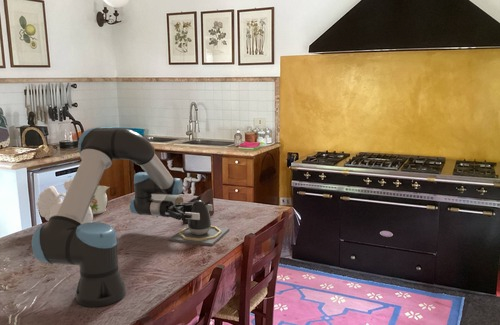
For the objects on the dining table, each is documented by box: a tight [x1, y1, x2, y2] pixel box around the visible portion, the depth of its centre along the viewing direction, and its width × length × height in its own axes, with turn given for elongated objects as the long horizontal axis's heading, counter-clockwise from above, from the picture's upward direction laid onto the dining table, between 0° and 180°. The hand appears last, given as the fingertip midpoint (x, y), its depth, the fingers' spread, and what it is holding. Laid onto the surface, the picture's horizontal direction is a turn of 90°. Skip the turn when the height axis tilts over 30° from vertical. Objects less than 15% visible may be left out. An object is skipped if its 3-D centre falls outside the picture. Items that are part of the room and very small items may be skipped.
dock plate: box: [168, 225, 230, 247], centre depth 200 cm, size 20×20×2 cm
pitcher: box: [90, 185, 110, 215], centre depth 235 cm, size 11×18×14 cm, turn 80°
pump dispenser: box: [187, 200, 212, 235], centre depth 198 cm, size 10×10×15 cm
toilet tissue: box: [152, 194, 166, 200], centre depth 260 cm, size 11×12×10 cm
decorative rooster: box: [36, 178, 94, 224], centre depth 206 cm, size 25×16×25 cm, turn 71°
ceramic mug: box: [164, 194, 185, 205], centre depth 244 cm, size 11×8×8 cm
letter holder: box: [182, 188, 215, 225], centre depth 224 cm, size 10×20×14 cm, turn 168°
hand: (205, 212), depth 197 cm, fingers open, 13 cm apart
